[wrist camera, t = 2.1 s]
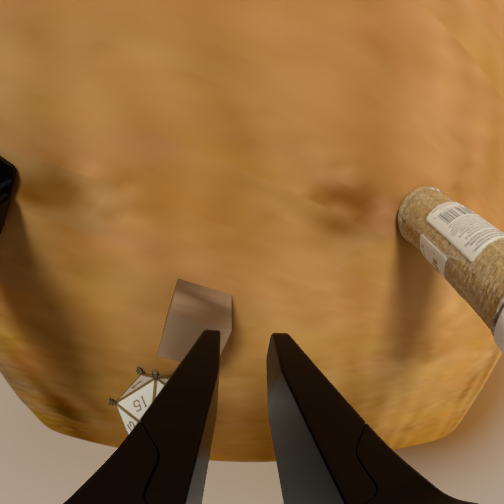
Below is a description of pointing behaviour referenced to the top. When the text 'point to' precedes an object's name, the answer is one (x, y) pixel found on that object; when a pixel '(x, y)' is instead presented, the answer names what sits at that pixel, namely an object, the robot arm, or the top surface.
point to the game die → (138, 397)
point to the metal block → (194, 318)
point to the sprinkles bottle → (459, 251)
